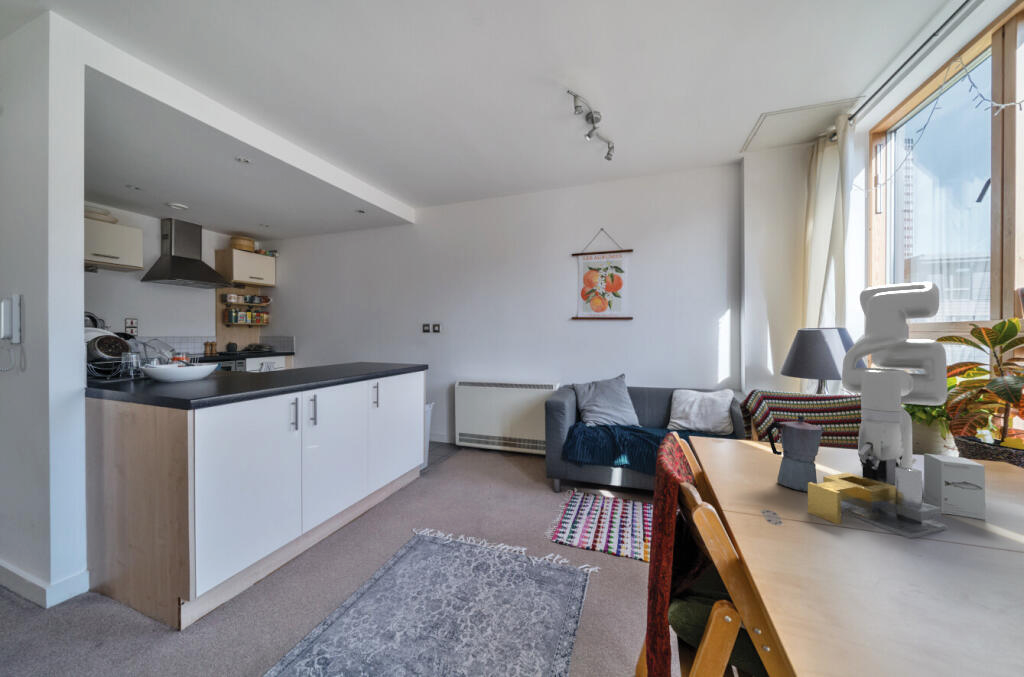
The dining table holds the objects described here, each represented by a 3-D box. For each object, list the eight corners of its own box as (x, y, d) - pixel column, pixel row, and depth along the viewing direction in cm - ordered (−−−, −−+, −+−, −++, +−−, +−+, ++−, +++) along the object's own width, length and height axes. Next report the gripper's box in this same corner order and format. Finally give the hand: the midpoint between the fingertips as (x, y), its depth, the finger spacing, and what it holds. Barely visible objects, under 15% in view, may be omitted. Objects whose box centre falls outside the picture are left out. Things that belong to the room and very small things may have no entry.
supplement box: (940, 513, 85) (939, 460, 86) (923, 501, 92) (922, 452, 92) (987, 521, 82) (986, 465, 82) (965, 508, 88) (964, 456, 89)
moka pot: (839, 494, 96) (838, 419, 97) (780, 493, 97) (780, 418, 97) (810, 480, 106) (809, 412, 106) (757, 479, 106) (757, 412, 107)
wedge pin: (877, 491, 98) (876, 451, 99) (896, 497, 94) (895, 455, 95) (867, 493, 97) (867, 452, 97) (887, 499, 93) (886, 456, 93)
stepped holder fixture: (855, 498, 94) (854, 452, 94) (946, 528, 78) (945, 473, 78) (800, 509, 87) (799, 459, 87) (887, 544, 72) (886, 484, 72)
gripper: (883, 412, 102) (883, 473, 102) (842, 415, 97) (843, 479, 97) (919, 417, 95) (920, 483, 95) (878, 420, 90) (879, 490, 90)
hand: (881, 481), depth 96 cm, fingers open, 8 cm apart
